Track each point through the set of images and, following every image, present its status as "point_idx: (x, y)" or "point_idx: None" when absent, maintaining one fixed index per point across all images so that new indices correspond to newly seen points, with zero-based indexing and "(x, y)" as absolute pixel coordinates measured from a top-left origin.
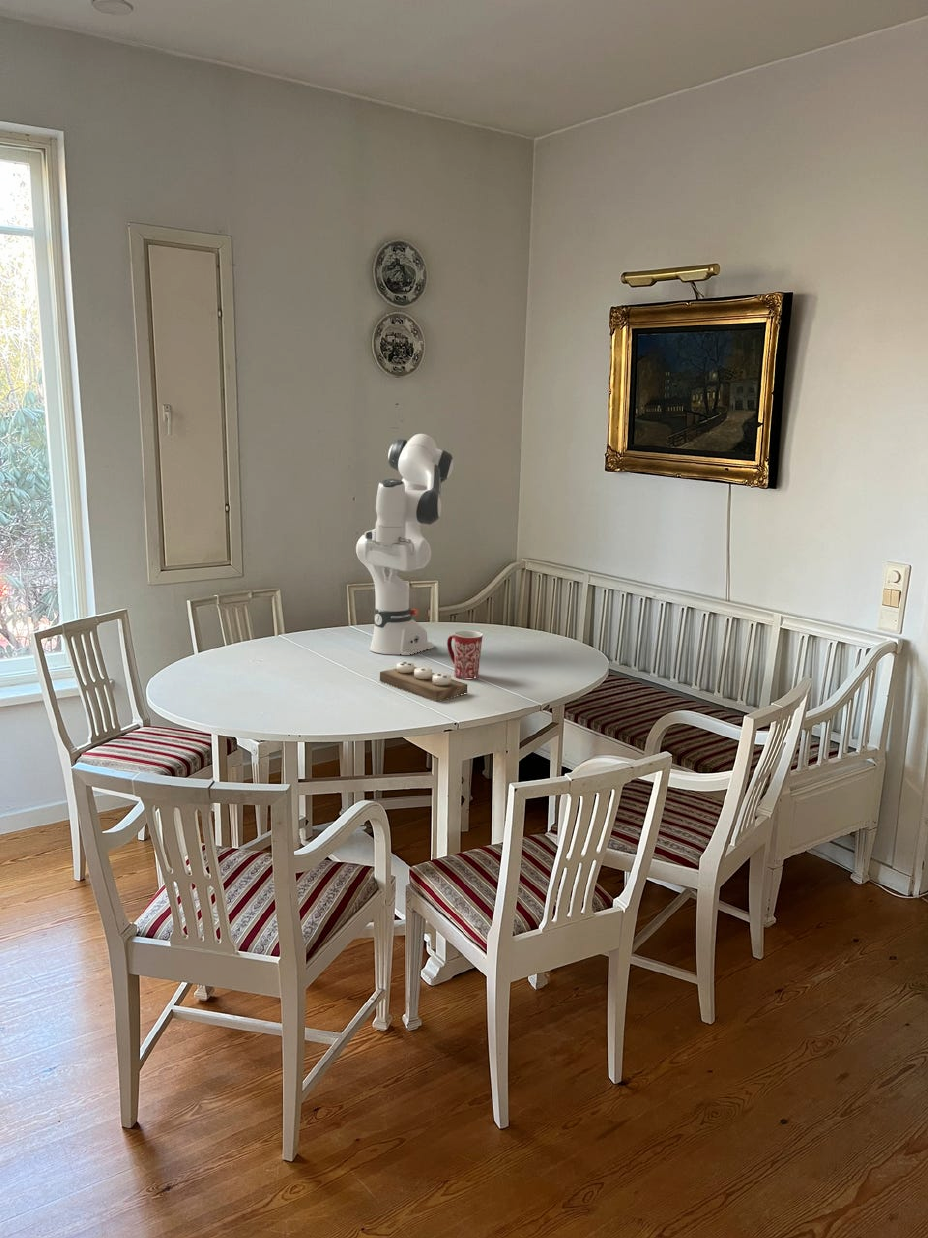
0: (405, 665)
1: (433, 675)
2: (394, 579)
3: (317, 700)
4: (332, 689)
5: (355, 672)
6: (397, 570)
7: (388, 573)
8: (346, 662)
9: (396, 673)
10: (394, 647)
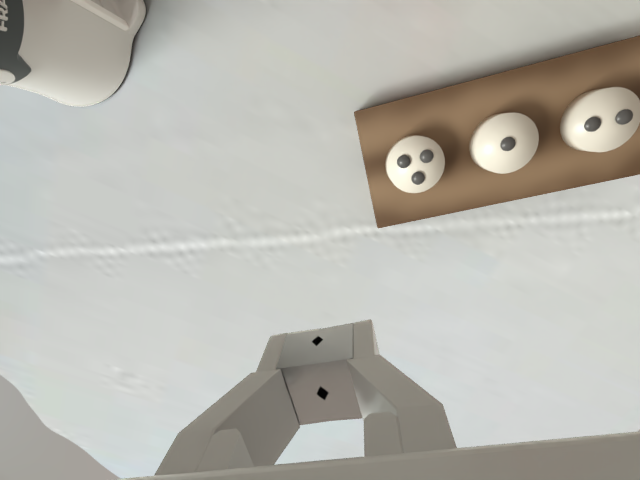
0: (429, 172)
1: (583, 144)
2: (374, 341)
3: (441, 388)
4: (385, 337)
5: (275, 238)
6: (446, 427)
7: (265, 403)
8: (179, 220)
9: (414, 194)
10: (112, 47)
